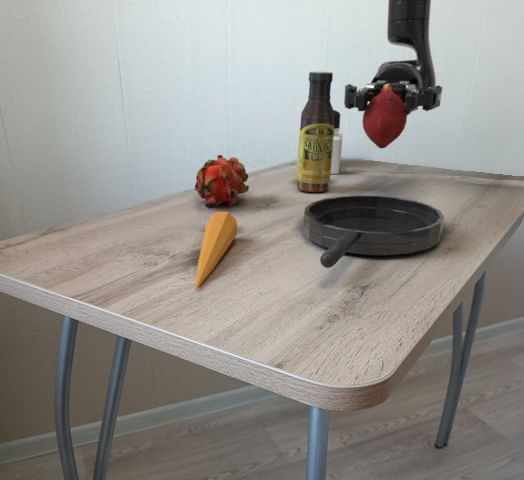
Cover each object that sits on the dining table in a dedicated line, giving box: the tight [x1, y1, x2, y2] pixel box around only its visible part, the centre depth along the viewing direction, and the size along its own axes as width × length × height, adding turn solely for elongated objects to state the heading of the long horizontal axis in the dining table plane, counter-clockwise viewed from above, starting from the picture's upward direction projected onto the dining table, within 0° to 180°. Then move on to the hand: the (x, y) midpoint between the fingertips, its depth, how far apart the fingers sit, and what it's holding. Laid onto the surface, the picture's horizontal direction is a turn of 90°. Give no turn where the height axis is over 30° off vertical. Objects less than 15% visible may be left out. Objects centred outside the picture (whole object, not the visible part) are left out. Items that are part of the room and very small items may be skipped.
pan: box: [302, 194, 445, 257], centre depth 78 cm, size 19×19×4 cm
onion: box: [362, 84, 408, 149], centre depth 74 cm, size 6×6×8 cm
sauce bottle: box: [296, 71, 335, 193], centre depth 99 cm, size 6×6×20 cm
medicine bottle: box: [330, 109, 343, 175], centre depth 116 cm, size 7×7×12 cm
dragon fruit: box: [194, 154, 250, 208], centre depth 93 cm, size 8×8×12 cm
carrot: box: [194, 211, 238, 291], centre depth 70 cm, size 20×4×4 cm, turn 174°
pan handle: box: [319, 230, 358, 269], centre depth 66 cm, size 11×2×2 cm, turn 155°
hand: (384, 102), depth 71 cm, fingers closed on onion, 5 cm apart
